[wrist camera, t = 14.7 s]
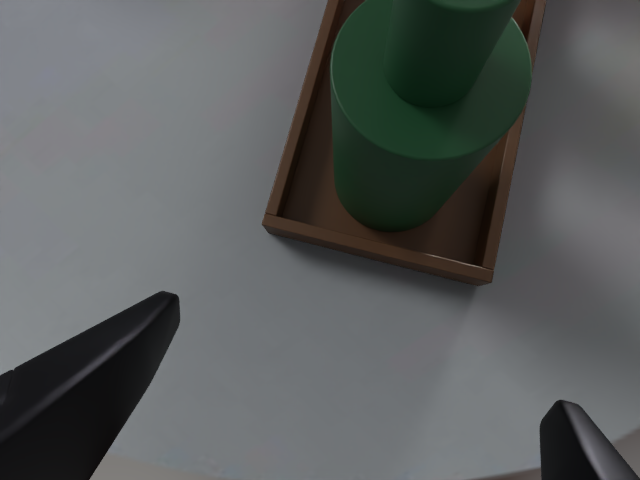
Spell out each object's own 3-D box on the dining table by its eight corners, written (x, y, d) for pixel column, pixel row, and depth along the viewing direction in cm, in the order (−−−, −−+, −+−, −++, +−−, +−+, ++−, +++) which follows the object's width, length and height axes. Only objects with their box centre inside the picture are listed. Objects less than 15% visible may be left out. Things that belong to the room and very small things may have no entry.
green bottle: (422, 251, 22) (563, 129, 8) (315, 204, 23) (277, 20, 9) (466, 149, 23) (658, -116, 9) (361, 107, 23) (392, -196, 10)
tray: (478, 286, 22) (491, 283, 20) (267, 233, 23) (261, 224, 21) (566, -155, 27) (584, -193, 25) (389, -183, 28) (393, -221, 26)
